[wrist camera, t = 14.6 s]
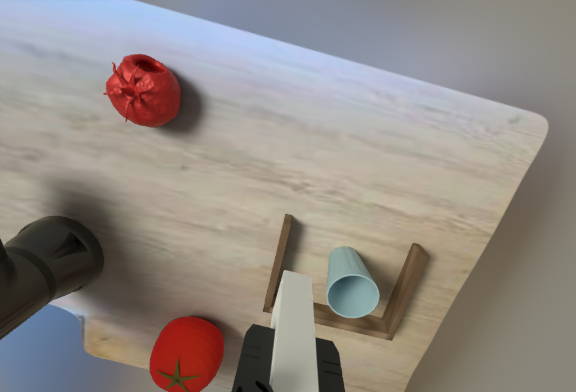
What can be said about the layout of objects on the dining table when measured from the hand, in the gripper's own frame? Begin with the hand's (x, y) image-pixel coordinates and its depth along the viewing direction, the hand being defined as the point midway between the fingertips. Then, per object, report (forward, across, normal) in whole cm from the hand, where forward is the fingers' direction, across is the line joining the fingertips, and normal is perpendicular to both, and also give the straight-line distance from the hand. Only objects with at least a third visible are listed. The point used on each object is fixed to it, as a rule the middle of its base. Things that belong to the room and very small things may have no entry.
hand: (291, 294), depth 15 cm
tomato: (+33, -11, -38) cm, 52 cm away
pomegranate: (+33, -24, +6) cm, 41 cm away
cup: (+32, +12, -14) cm, 37 cm away
